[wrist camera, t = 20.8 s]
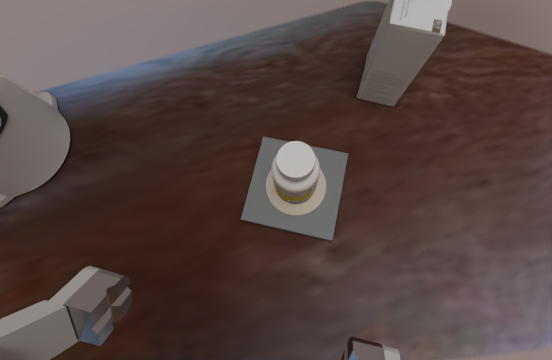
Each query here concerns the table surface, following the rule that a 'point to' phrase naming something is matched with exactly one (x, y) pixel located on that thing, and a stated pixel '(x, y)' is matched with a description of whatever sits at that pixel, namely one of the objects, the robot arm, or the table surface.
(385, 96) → the skincare box
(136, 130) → the table surface
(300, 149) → the supplement bottle
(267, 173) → the board
